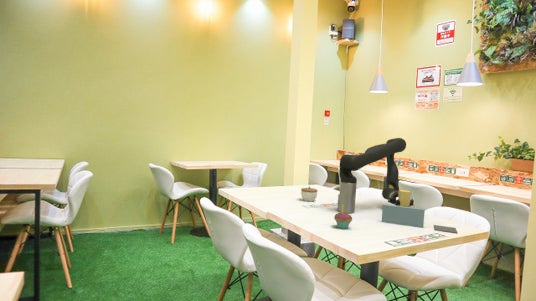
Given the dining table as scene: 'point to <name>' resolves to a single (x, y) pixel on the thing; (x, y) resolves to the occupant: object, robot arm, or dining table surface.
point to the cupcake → (343, 219)
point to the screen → (403, 215)
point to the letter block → (404, 198)
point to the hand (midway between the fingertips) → (405, 203)
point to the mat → (445, 229)
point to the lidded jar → (309, 194)
